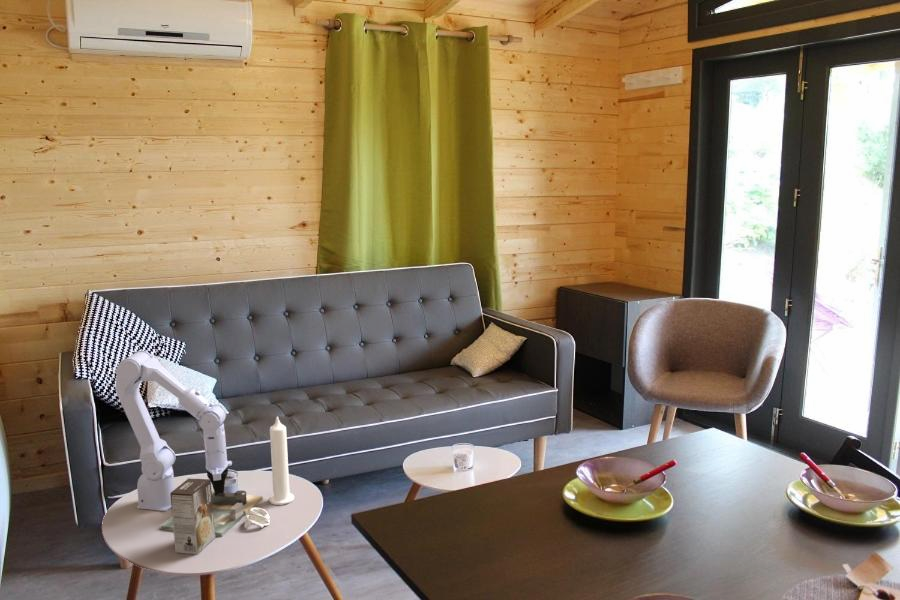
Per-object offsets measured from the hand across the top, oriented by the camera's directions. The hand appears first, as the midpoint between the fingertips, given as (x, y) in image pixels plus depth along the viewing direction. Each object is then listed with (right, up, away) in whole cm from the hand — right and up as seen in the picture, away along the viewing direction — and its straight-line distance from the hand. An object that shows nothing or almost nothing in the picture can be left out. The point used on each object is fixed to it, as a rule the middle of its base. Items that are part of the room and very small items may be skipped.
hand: (219, 494), depth 215 cm
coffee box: (+1, -7, -22) cm, 24 cm away
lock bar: (+2, -2, -2) cm, 4 cm away
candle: (+17, -2, +3) cm, 17 cm away
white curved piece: (+14, -5, -11) cm, 18 cm away
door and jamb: (0, -4, -5) cm, 7 cm away
